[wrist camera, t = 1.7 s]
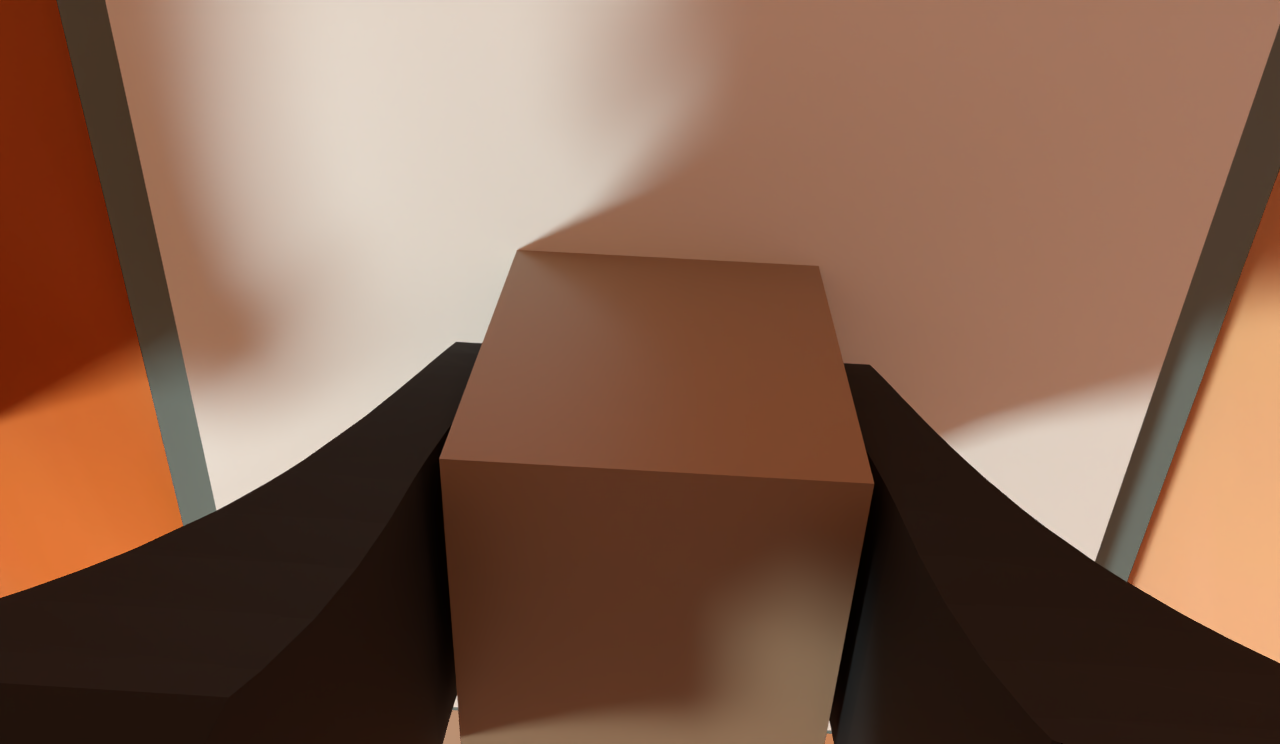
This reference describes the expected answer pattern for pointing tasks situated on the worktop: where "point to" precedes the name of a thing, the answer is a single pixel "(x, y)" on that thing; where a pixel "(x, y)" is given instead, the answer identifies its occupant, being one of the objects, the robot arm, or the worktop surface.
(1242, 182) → the mat
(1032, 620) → the robot arm
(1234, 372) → the worktop surface
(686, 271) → the lid
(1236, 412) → the worktop surface
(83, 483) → the worktop surface
